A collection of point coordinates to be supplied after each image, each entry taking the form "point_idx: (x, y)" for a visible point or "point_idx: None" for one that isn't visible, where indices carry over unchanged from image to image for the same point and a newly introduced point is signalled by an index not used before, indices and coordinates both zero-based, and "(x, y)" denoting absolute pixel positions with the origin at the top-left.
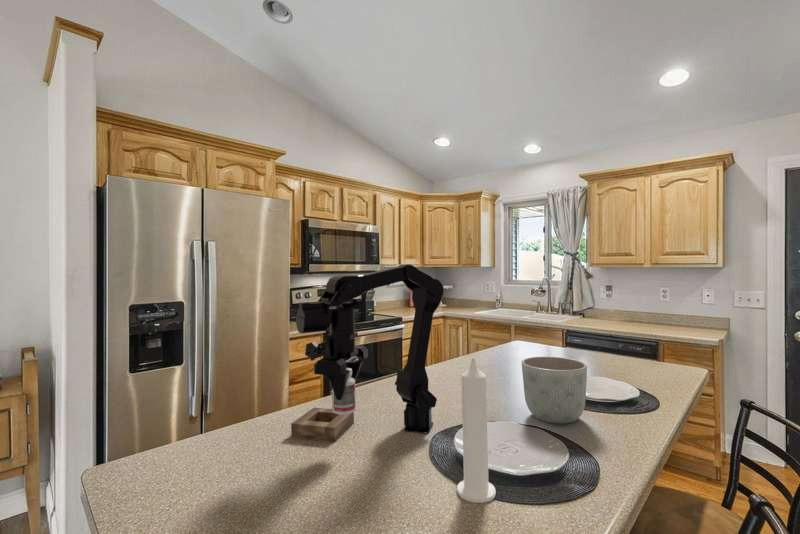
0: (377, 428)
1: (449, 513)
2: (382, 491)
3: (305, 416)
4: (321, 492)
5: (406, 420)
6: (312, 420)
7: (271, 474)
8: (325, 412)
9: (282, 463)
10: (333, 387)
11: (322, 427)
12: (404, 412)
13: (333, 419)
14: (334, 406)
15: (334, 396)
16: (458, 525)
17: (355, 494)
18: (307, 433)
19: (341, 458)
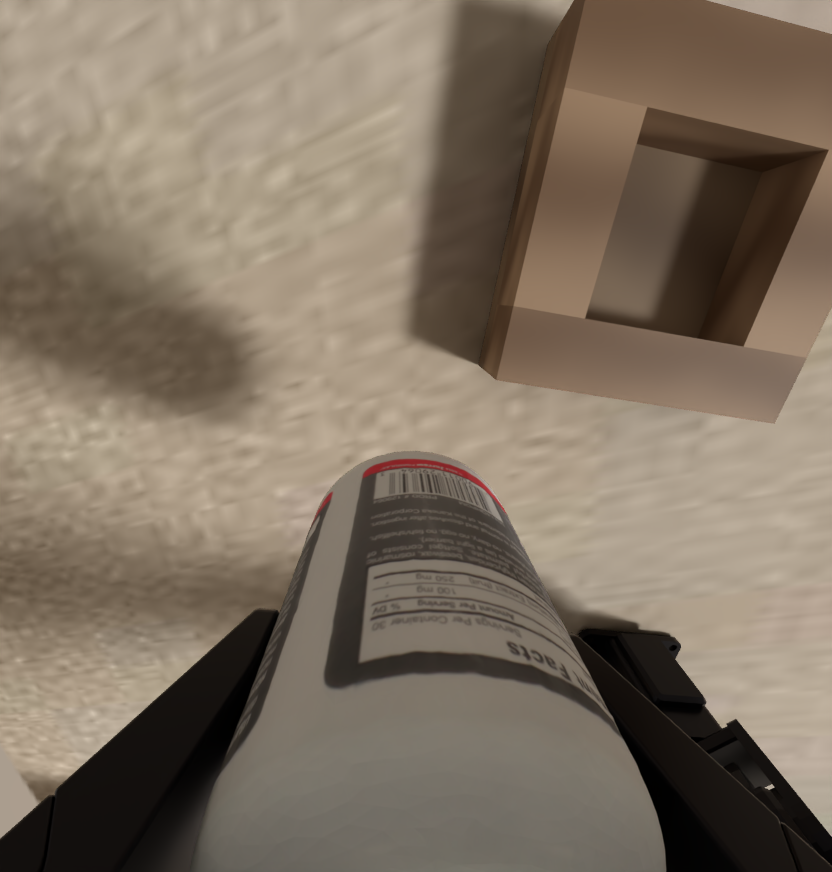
0: (628, 523)
1: (74, 769)
2: (114, 623)
3: (738, 61)
4: (26, 438)
5: (622, 664)
6: (710, 142)
7: (73, 126)
8: (794, 222)
9: (202, 141)
10: (73, 789)
11: (515, 288)
12: (651, 690)
13: (636, 330)
14: (320, 515)
15: (293, 590)
16: (34, 784)
17: (64, 553)
18: (528, 173)
19: (312, 440)
